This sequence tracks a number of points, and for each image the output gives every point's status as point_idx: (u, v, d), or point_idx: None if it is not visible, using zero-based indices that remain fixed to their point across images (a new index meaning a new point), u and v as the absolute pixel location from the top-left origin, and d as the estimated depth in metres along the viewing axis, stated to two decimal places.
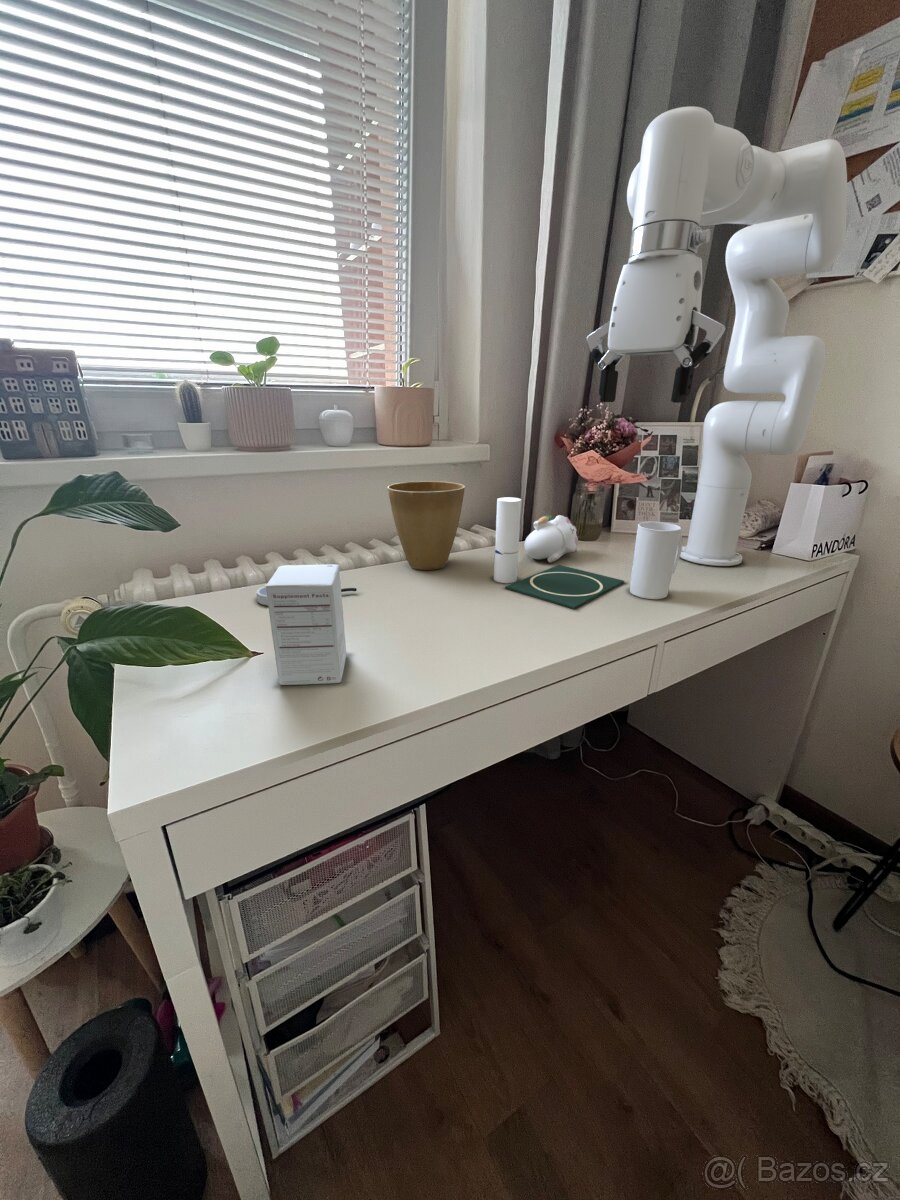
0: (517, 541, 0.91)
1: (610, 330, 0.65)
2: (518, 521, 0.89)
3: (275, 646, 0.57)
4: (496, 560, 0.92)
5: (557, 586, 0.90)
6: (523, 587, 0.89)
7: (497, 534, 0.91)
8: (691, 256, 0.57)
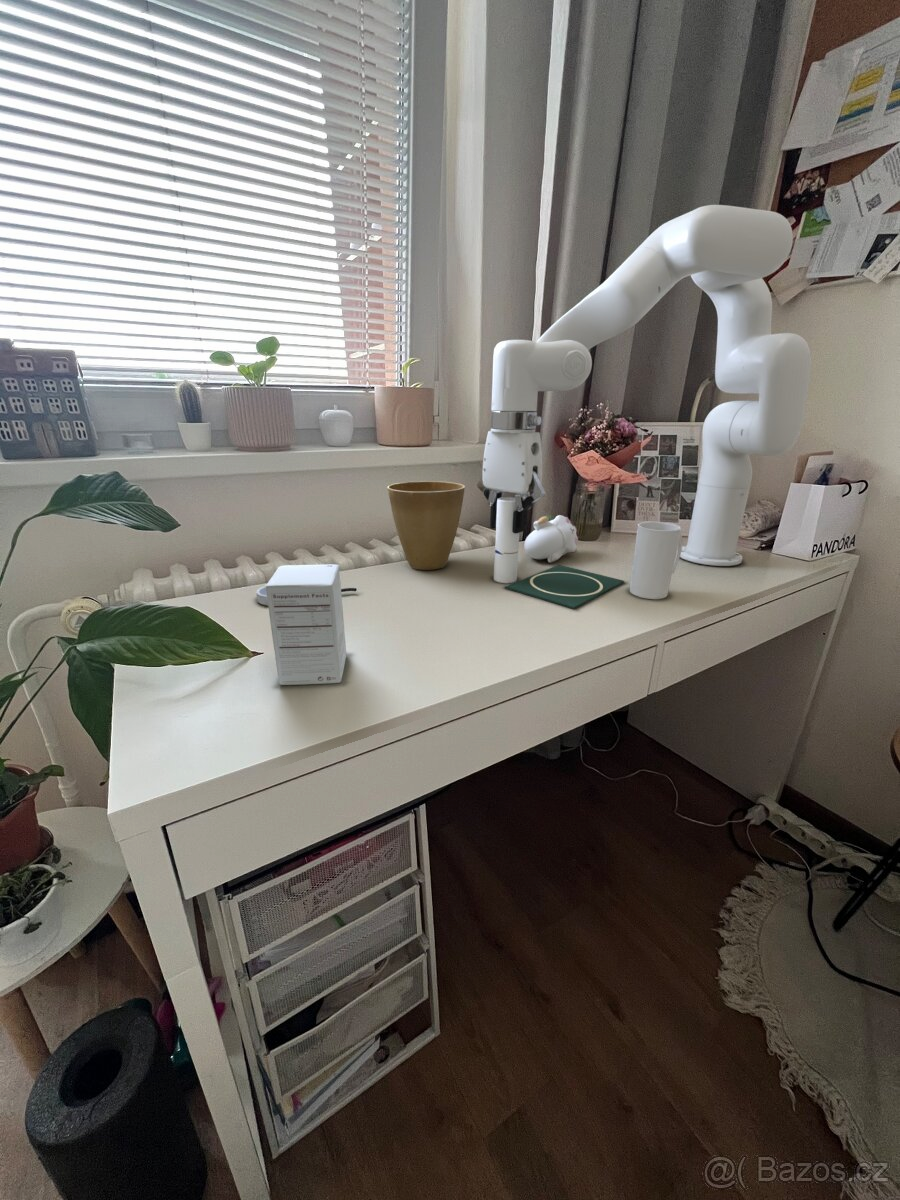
0: (517, 541, 0.91)
1: (483, 473, 0.89)
2: None
3: (275, 646, 0.57)
4: (496, 560, 0.92)
5: (557, 586, 0.90)
6: (523, 587, 0.89)
7: (497, 534, 0.91)
8: (528, 434, 0.82)
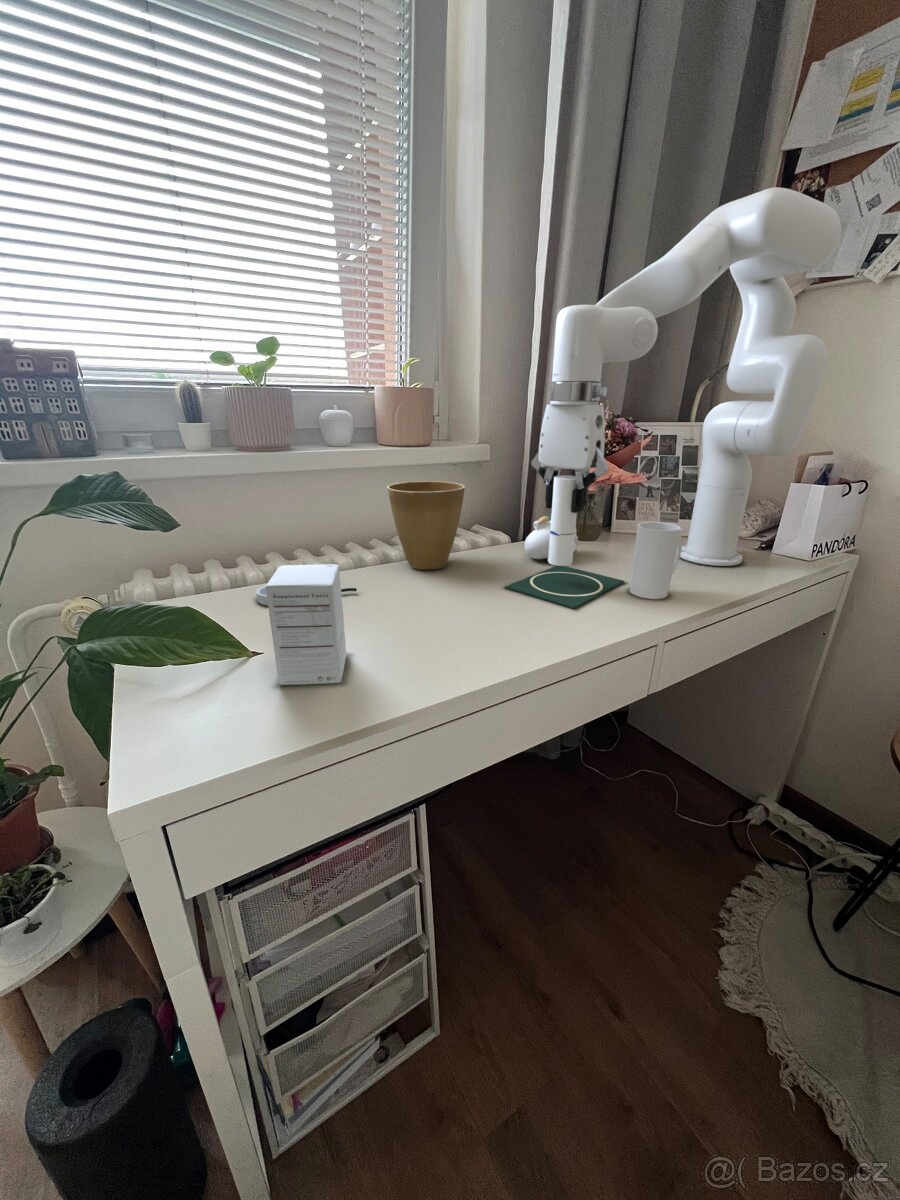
0: (575, 521, 0.86)
1: (539, 449, 0.85)
2: None
3: (275, 646, 0.57)
4: (552, 542, 0.88)
5: (557, 586, 0.90)
6: (523, 587, 0.89)
7: (554, 514, 0.86)
8: (593, 406, 0.77)
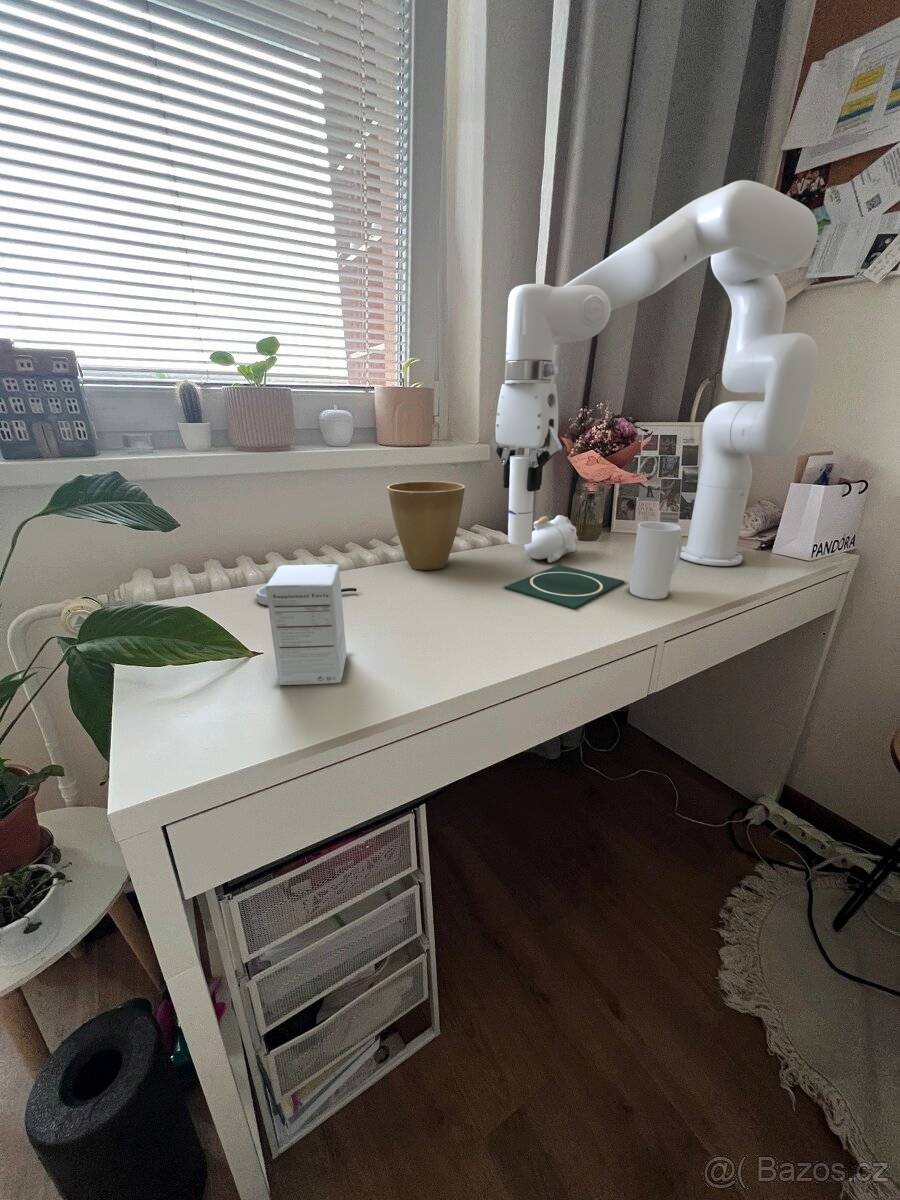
0: (532, 500, 0.88)
1: (496, 429, 0.86)
2: None
3: (275, 646, 0.57)
4: (510, 521, 0.89)
5: (557, 586, 0.90)
6: (523, 587, 0.89)
7: (511, 493, 0.87)
8: (544, 384, 0.78)
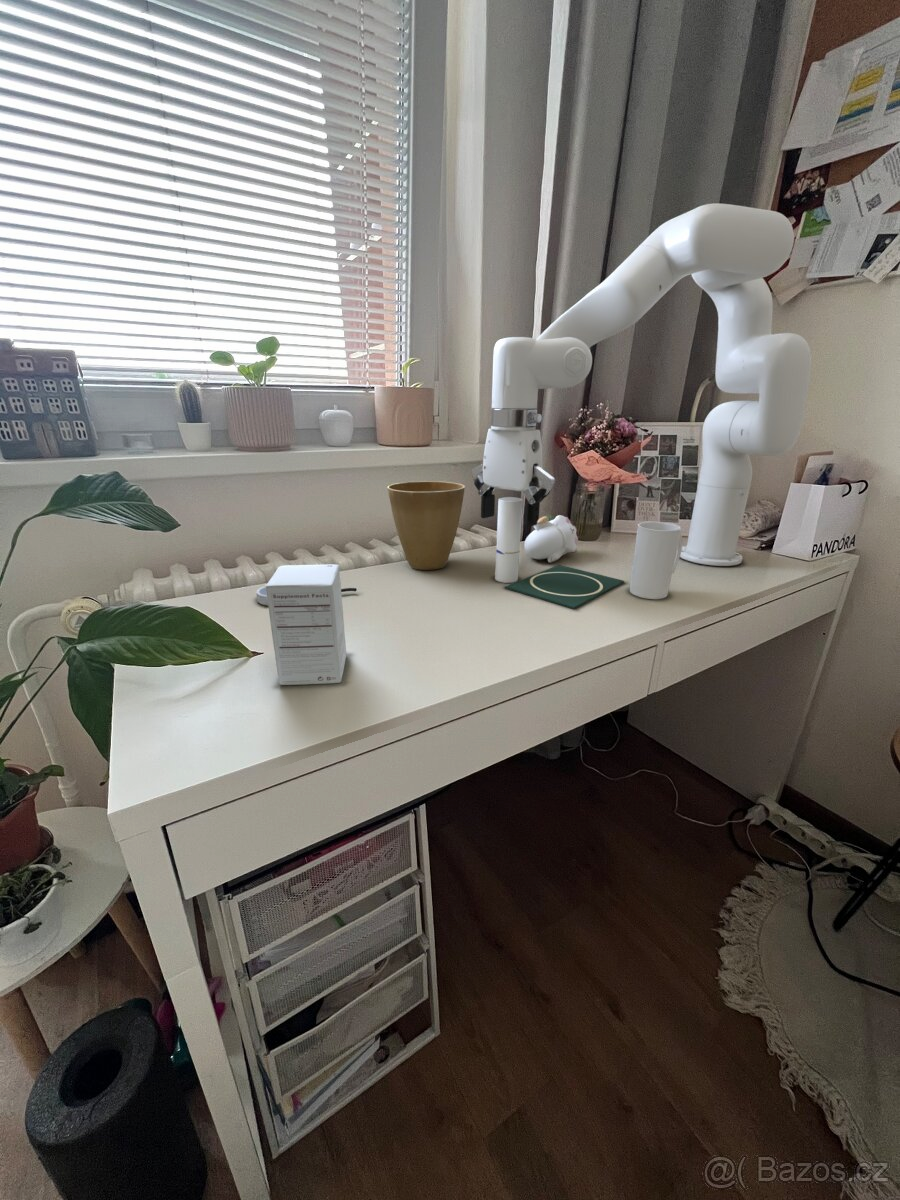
0: (518, 541, 0.91)
1: (483, 471, 0.89)
2: (519, 521, 0.89)
3: (275, 646, 0.57)
4: (497, 560, 0.93)
5: (557, 586, 0.90)
6: (523, 587, 0.89)
7: (498, 534, 0.91)
8: (528, 431, 0.81)
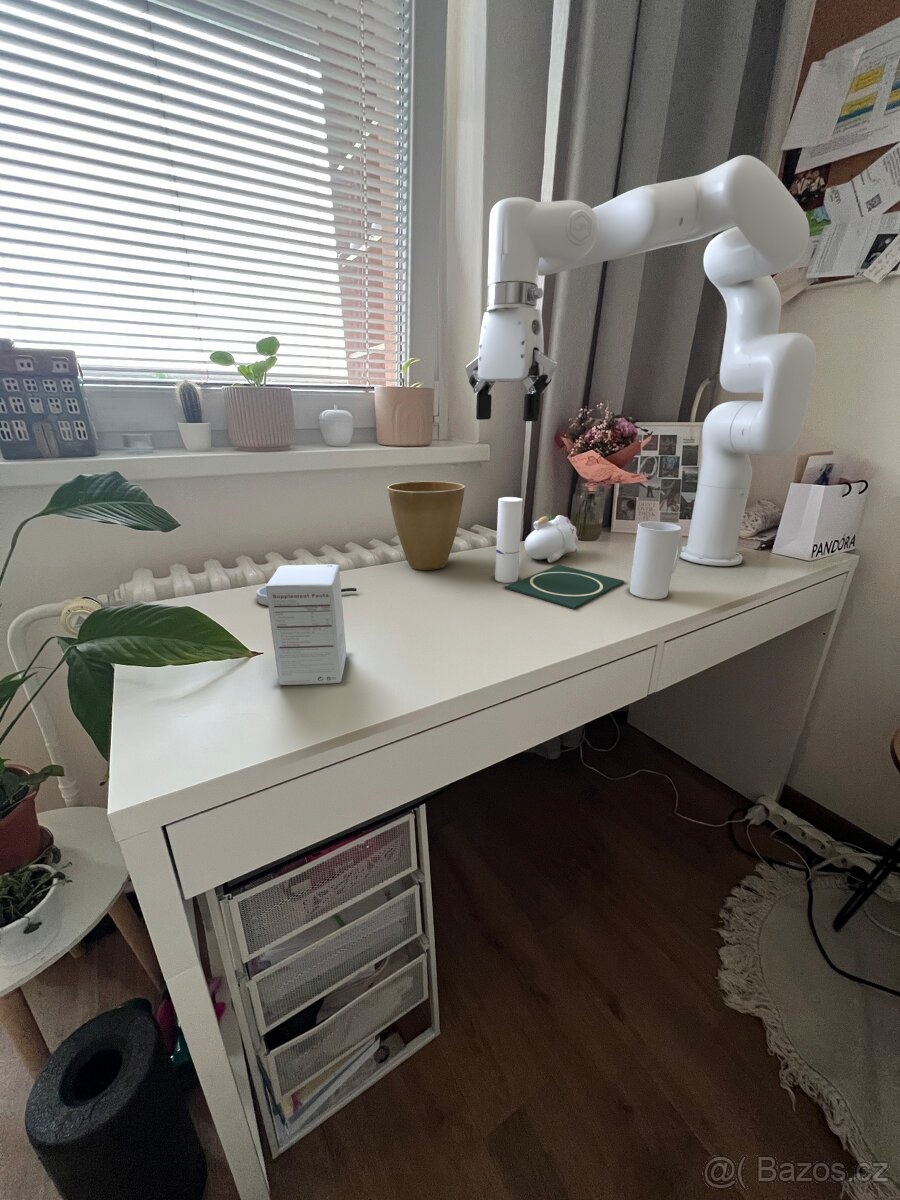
0: (518, 541, 0.91)
1: (478, 363, 0.81)
2: (519, 521, 0.89)
3: (275, 646, 0.57)
4: (497, 560, 0.93)
5: (557, 586, 0.90)
6: (523, 587, 0.89)
7: (498, 534, 0.91)
8: (528, 308, 0.74)
